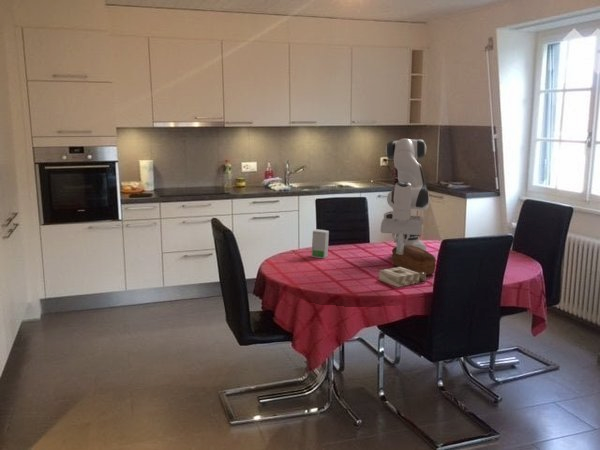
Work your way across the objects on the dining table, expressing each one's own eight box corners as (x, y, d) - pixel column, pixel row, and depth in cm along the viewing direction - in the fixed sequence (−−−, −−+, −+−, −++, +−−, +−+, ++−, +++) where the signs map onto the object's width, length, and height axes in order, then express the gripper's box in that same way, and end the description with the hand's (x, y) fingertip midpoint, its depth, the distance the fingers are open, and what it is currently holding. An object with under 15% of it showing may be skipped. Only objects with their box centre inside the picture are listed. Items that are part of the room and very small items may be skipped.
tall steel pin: (400, 252, 289) (401, 229, 287) (405, 254, 286) (406, 230, 284) (394, 253, 287) (395, 229, 285) (399, 254, 284) (400, 231, 282)
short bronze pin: (421, 280, 292) (422, 271, 291) (427, 281, 289) (427, 273, 288) (416, 281, 290) (417, 272, 289) (421, 283, 287) (422, 274, 286)
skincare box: (311, 257, 336) (311, 230, 333) (315, 254, 342) (315, 228, 339) (324, 258, 333) (325, 232, 330) (328, 256, 339) (329, 230, 336)
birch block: (399, 276, 299) (400, 266, 298) (418, 282, 287) (419, 273, 286) (378, 280, 291) (379, 270, 290) (397, 287, 280) (398, 277, 279)
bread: (409, 262, 327) (410, 241, 325) (438, 275, 301) (440, 252, 299) (388, 264, 322) (389, 243, 320) (416, 278, 296) (417, 254, 294)
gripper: (423, 215, 284) (422, 242, 286) (381, 213, 288) (380, 240, 291) (423, 217, 278) (421, 245, 280) (380, 215, 282) (379, 242, 285)
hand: (400, 242), depth 285 cm, fingers closed on tall steel pin, 4 cm apart
